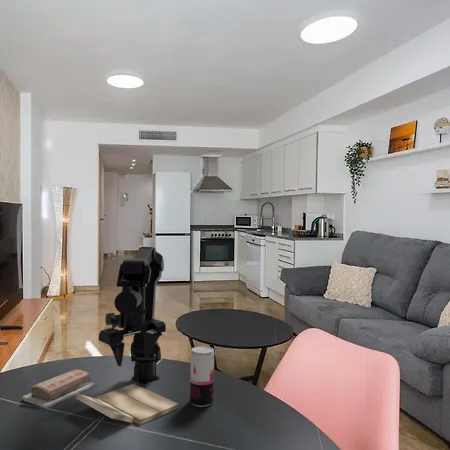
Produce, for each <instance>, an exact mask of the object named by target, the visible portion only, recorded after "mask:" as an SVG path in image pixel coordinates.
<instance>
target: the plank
mask: <svg viewBox="0 0 450 450" xmlns="http://www.w3.org/2000/svg"><path fill="white" fill-rule="evenodd" d="M76 400H78V401H80V402H82V403H84V404H85V405H87V406H89V407H90V408H92V409H94V410H95V411H98V412H100V414H103V415H105V416H107V417H108V418H109V419H113V420H118V421H121V422H122V421H123V422H127V423H134V422H133V419H134V417H132V416H130V415H128V414H126V413H124V412H122V411H120V410H118V409H116V408H115V407H113V406H111V405H109V404H107V403H105V402H103V401H101V400H99V399H96V397H93V396H88V395H83V394H81V393H79V394H77V395H76Z"/></svg>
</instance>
